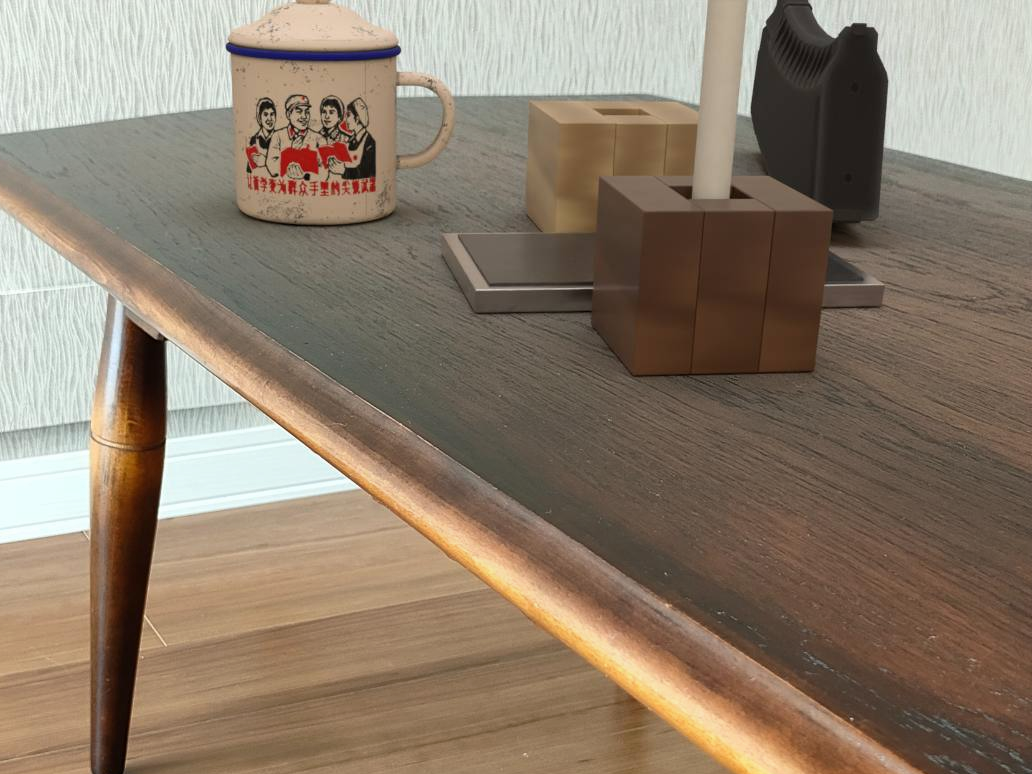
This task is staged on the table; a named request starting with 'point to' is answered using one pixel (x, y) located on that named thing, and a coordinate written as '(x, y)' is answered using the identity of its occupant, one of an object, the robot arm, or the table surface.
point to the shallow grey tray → (580, 273)
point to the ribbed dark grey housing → (821, 110)
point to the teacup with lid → (321, 115)
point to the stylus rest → (709, 275)
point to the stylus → (719, 98)
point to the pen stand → (599, 154)
